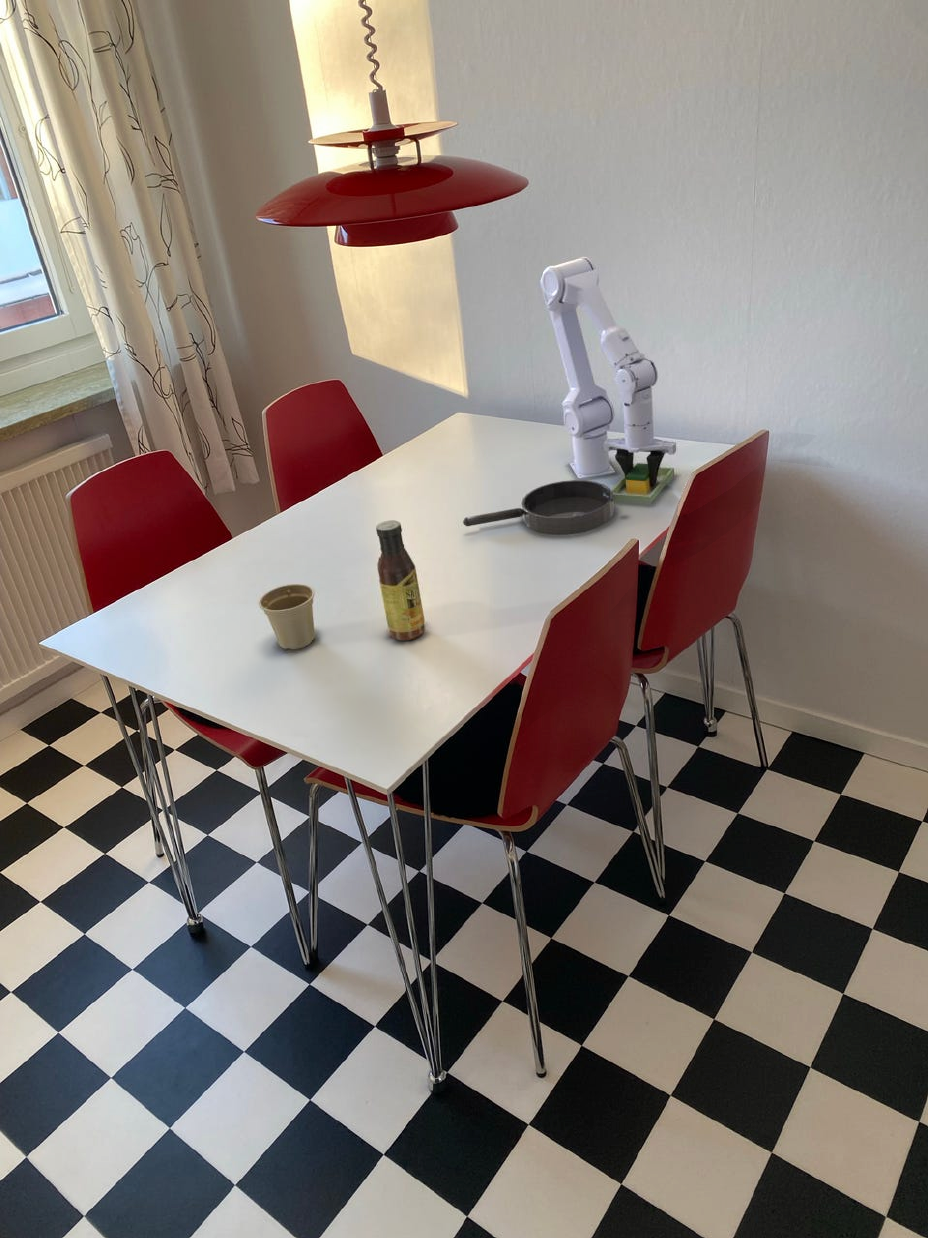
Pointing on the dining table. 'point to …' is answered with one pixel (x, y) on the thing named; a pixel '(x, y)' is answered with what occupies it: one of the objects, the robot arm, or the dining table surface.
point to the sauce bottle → (399, 584)
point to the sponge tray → (666, 478)
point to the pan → (568, 507)
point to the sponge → (638, 480)
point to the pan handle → (493, 517)
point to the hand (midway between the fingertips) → (641, 484)
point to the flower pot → (290, 614)
